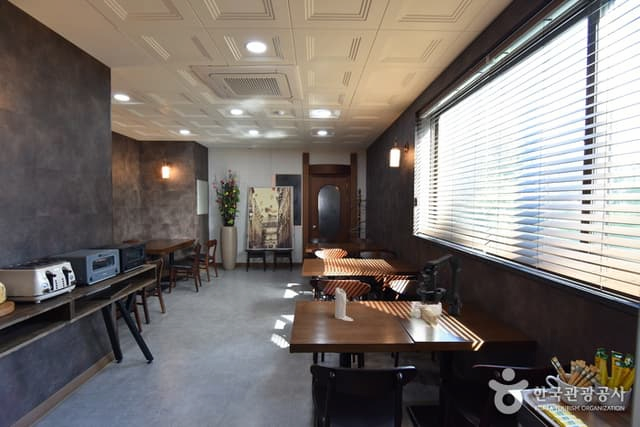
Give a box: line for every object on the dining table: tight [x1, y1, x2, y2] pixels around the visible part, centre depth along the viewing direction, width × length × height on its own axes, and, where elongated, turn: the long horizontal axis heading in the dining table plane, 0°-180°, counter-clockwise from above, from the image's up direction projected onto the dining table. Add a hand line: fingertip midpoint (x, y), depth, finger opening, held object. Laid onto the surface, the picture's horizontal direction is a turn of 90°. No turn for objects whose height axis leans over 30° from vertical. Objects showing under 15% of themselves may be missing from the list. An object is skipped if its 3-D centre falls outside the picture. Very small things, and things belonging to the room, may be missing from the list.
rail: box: [420, 308, 439, 326], centre depth 214 cm, size 4×16×6 cm, turn 10°
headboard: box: [413, 302, 443, 319], centre depth 222 cm, size 21×6×9 cm, turn 100°
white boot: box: [334, 287, 354, 322], centre depth 214 cm, size 7×14×20 cm, turn 53°
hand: (430, 304), depth 214 cm, fingers open, 9 cm apart
